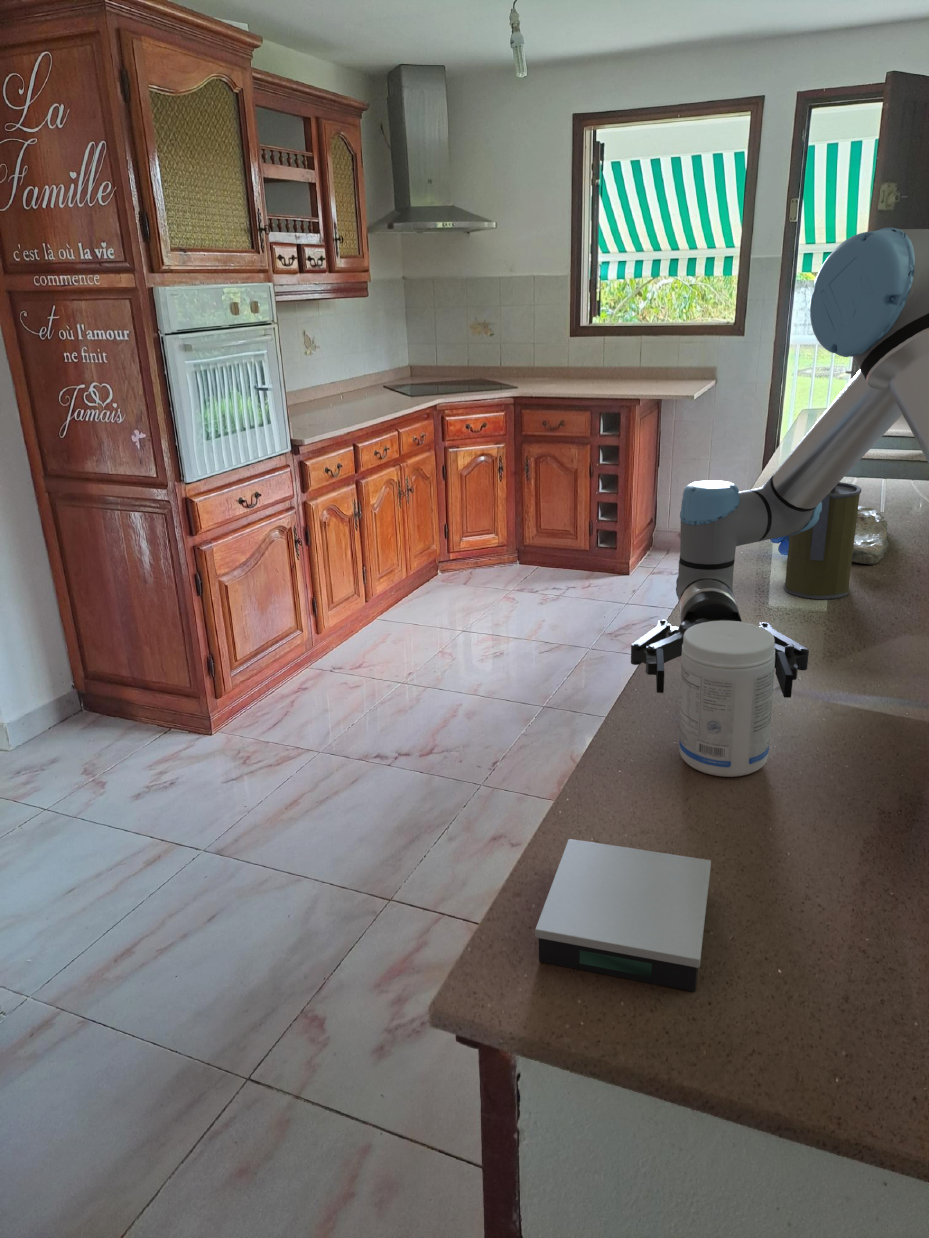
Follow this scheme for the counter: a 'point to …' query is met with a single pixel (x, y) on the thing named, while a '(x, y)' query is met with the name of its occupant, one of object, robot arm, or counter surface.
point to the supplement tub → (726, 697)
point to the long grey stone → (869, 536)
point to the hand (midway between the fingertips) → (723, 684)
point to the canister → (825, 548)
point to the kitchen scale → (626, 914)
